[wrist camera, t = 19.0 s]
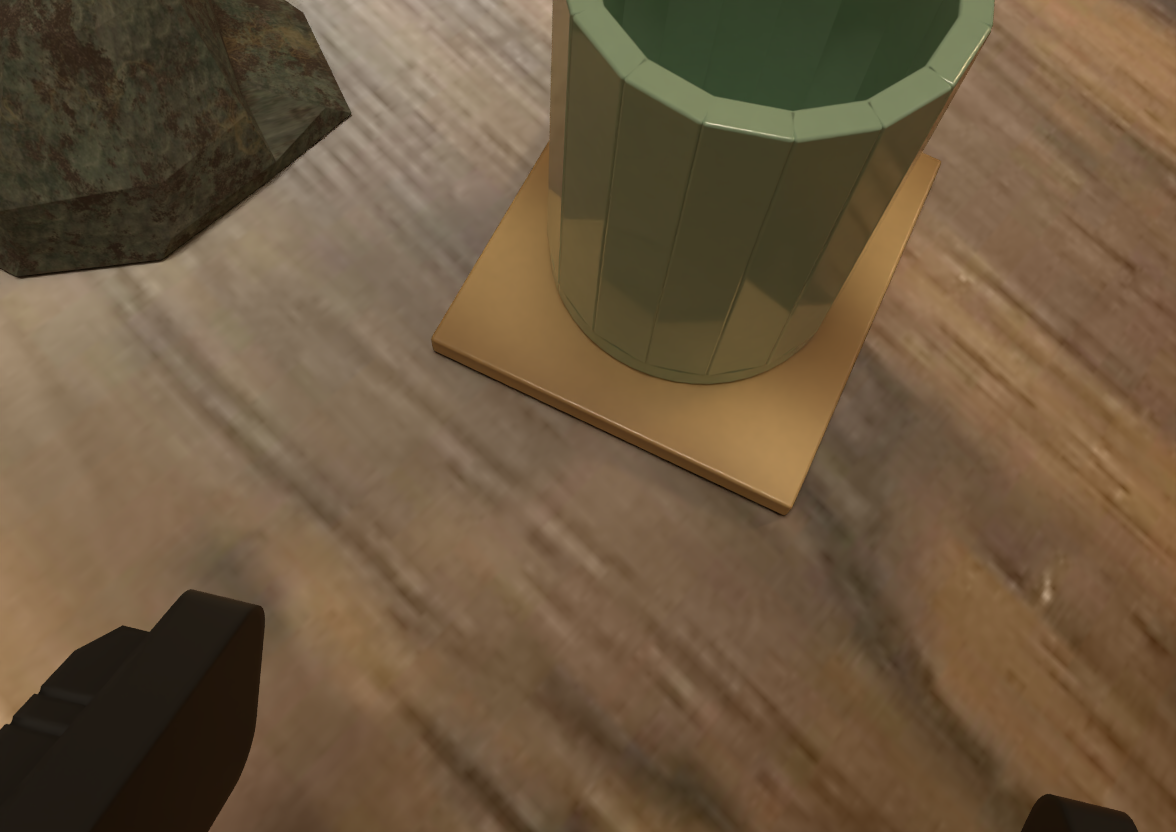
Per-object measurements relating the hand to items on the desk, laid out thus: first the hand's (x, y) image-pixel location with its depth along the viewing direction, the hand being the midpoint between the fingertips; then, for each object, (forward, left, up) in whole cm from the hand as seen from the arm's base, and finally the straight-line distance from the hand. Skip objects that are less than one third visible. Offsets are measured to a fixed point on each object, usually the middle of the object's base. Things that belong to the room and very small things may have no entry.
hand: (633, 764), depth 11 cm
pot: (+8, -8, -9) cm, 14 cm away
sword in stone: (+18, +1, -10) cm, 20 cm away
